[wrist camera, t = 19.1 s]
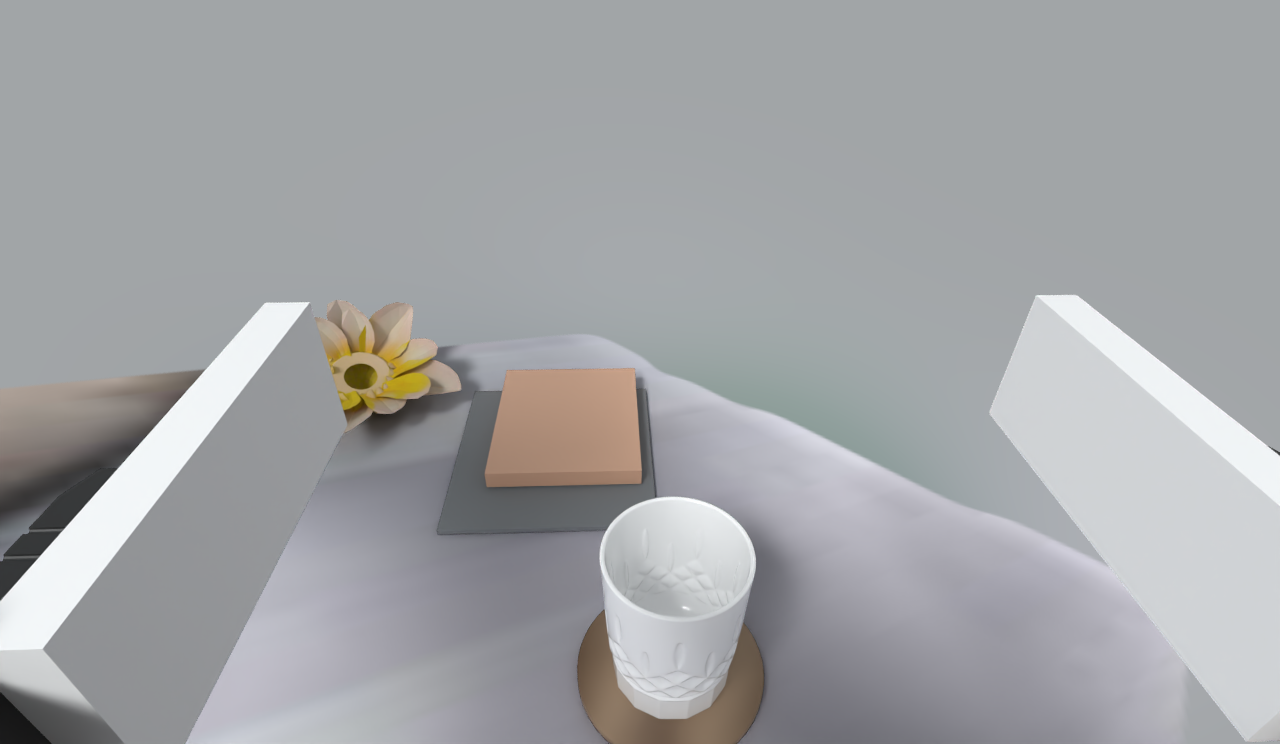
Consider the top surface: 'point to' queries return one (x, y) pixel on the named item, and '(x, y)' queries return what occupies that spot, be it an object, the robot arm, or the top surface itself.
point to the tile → (566, 429)
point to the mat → (532, 487)
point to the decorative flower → (380, 360)
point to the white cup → (674, 602)
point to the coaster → (650, 740)
